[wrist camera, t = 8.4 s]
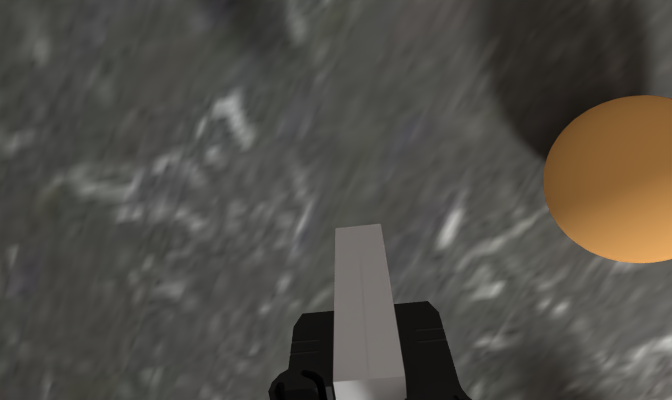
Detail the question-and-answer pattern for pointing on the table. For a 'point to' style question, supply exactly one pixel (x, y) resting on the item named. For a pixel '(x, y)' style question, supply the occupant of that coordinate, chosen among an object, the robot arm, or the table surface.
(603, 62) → the table surface
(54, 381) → the table surface
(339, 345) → the robot arm
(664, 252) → the ball
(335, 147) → the table surface
